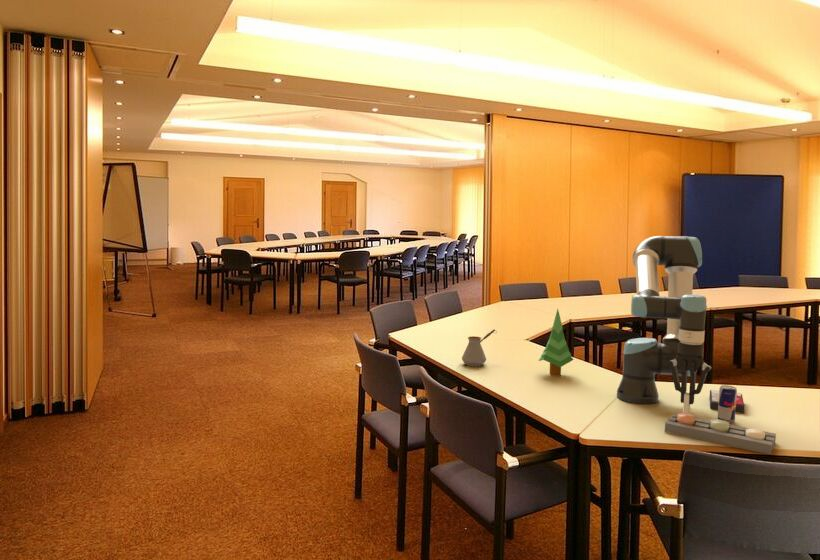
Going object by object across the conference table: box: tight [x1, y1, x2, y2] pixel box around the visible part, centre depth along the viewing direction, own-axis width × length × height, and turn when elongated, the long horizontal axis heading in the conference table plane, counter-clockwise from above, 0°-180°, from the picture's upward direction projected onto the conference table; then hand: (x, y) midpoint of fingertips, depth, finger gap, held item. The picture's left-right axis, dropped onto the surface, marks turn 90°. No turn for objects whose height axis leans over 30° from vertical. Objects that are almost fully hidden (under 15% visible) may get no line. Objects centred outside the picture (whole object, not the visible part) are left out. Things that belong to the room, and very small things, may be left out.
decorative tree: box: [538, 308, 574, 377], centre depth 263 cm, size 14×16×30 cm
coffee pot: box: [461, 328, 498, 367], centre depth 284 cm, size 21×12×15 cm, turn 134°
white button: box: [745, 428, 766, 440], centre depth 185 cm, size 5×5×3 cm
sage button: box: [710, 419, 730, 433], centre depth 191 cm, size 5×5×3 cm
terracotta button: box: [677, 412, 696, 426], centre depth 197 cm, size 5×5×3 cm
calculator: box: [708, 389, 745, 414], centre depth 225 cm, size 11×4×15 cm
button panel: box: [664, 413, 777, 455], centre depth 192 cm, size 30×12×3 cm, turn 53°
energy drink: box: [717, 384, 738, 424], centre depth 207 cm, size 5×5×12 cm
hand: (686, 412), depth 197 cm, fingers closed
